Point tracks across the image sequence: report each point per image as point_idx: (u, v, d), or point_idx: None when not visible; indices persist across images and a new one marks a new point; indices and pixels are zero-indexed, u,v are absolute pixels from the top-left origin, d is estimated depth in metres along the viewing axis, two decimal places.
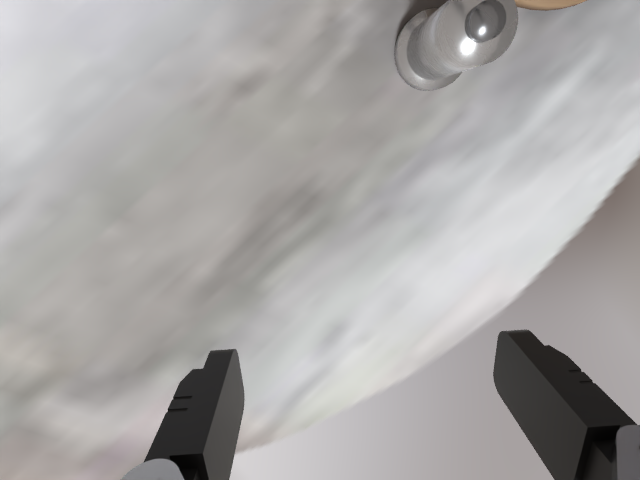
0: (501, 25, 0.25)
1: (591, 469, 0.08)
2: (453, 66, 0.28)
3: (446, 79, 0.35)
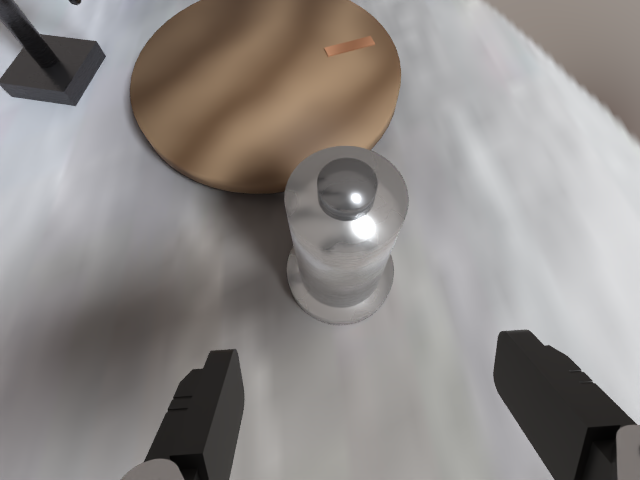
0: (365, 170, 0.15)
1: (591, 469, 0.08)
2: (378, 260, 0.16)
3: (385, 272, 0.23)
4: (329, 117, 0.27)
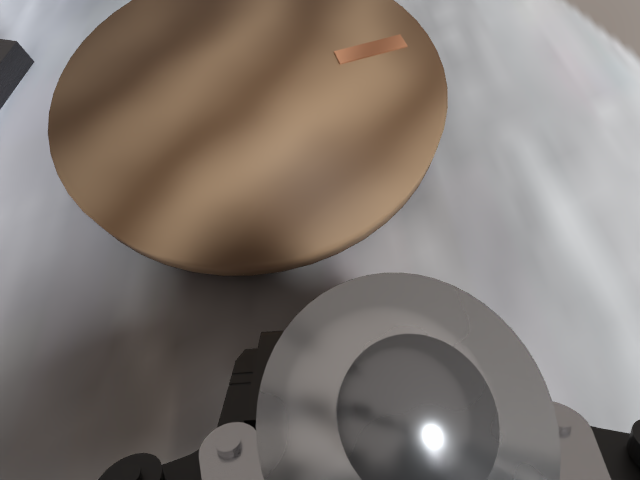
0: (462, 376, 0.06)
1: None
2: None
3: None
4: (342, 158, 0.18)
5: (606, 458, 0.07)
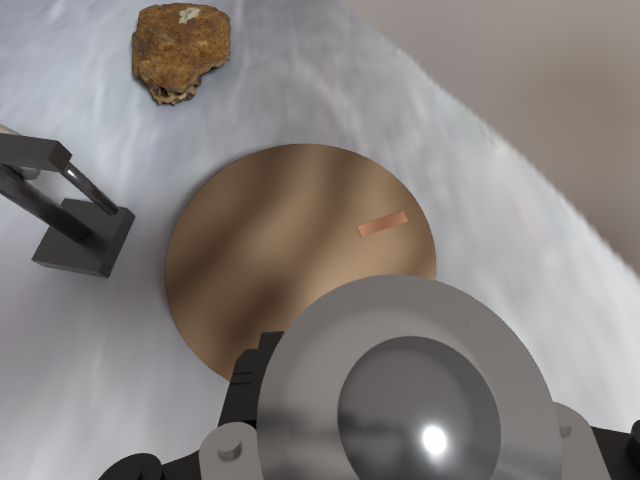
0: (463, 378, 0.06)
1: None
2: None
3: None
4: None
5: (606, 458, 0.07)
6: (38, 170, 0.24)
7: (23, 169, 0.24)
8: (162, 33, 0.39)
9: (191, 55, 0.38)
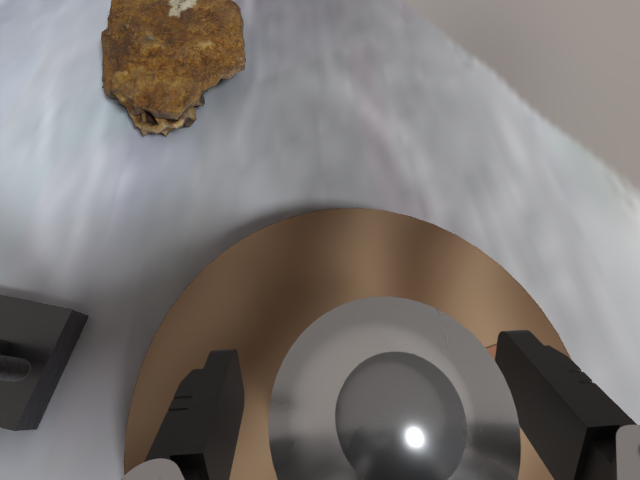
0: (437, 387, 0.07)
1: (591, 469, 0.08)
2: None
3: None
4: None
5: None
6: None
7: None
8: (145, 31, 0.27)
9: (189, 62, 0.26)
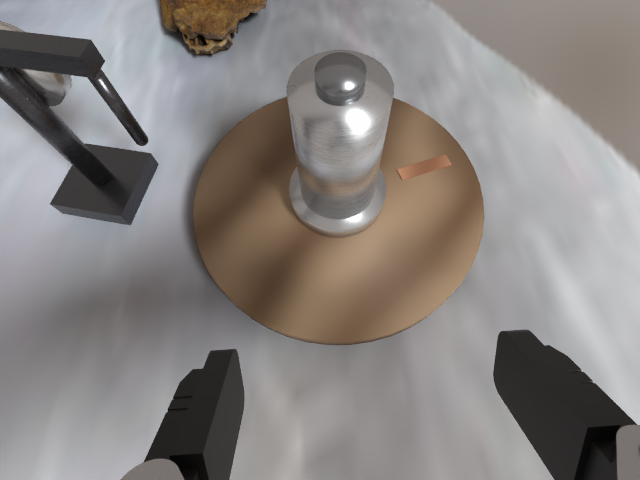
0: (356, 61, 0.17)
1: (591, 469, 0.08)
2: (368, 148, 0.19)
3: (379, 190, 0.26)
4: (410, 258, 0.25)
5: None
6: (63, 92, 0.22)
7: (48, 91, 0.22)
8: None
9: (228, 1, 0.36)
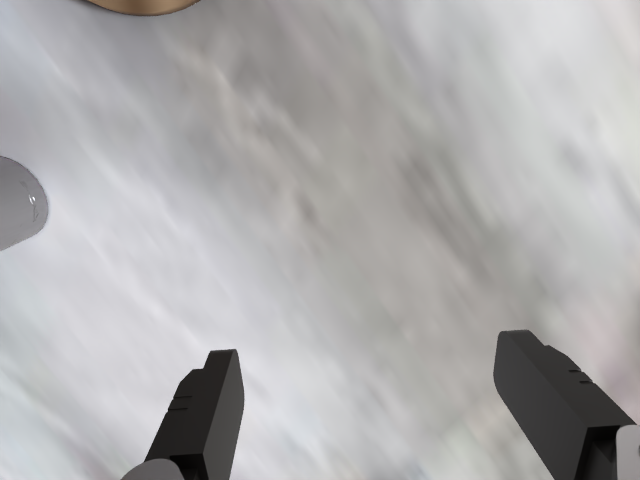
0: None
1: (591, 469, 0.08)
2: None
3: None
4: None
5: None
6: None
7: None
8: None
9: None
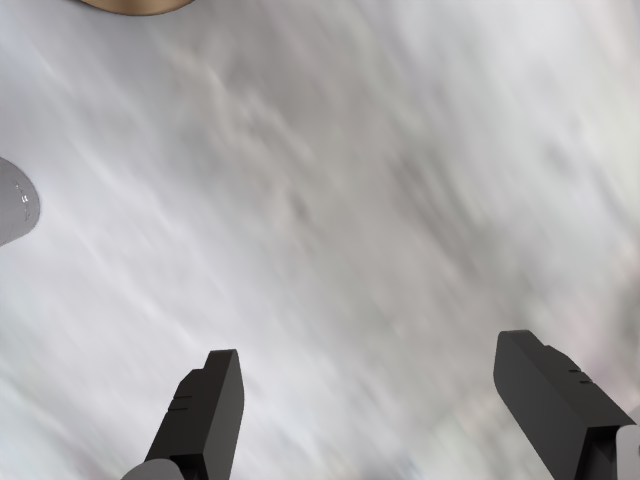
0: None
1: (591, 469, 0.08)
2: None
3: None
4: None
5: None
6: None
7: None
8: None
9: None
